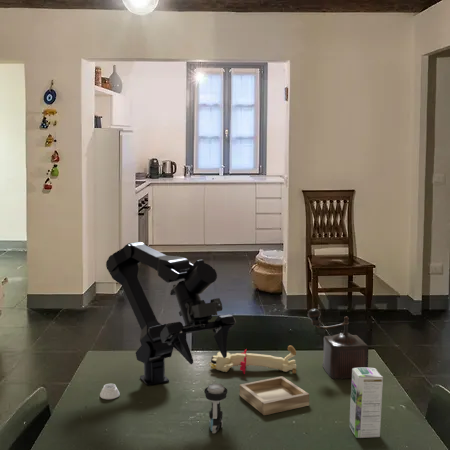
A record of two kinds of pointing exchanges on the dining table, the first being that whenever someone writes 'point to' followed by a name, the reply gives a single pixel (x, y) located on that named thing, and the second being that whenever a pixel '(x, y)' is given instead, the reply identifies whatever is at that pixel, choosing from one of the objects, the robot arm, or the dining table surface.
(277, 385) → the oak tray
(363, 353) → the manual coffee grinder
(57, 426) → the dining table surface
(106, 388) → the small white bowl
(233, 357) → the cat figure
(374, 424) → the syrup box
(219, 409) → the push button
